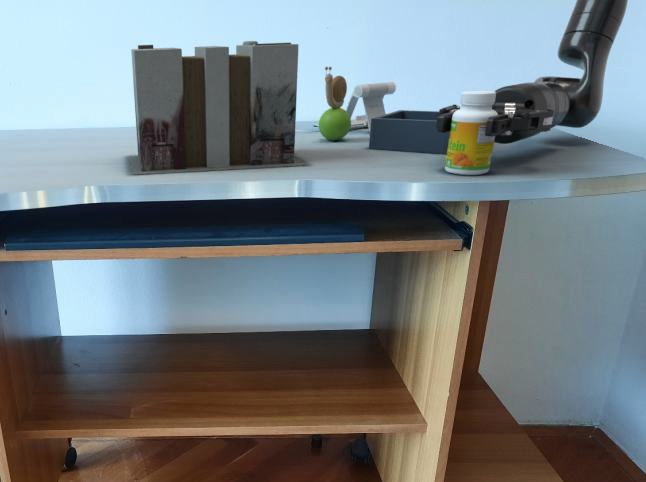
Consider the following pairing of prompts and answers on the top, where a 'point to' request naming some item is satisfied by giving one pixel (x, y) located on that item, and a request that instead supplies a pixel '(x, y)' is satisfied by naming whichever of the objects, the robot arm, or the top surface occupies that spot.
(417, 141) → the bin
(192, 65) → the building model
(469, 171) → the supplement bottle
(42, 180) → the top surface
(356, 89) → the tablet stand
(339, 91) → the snail figurine
